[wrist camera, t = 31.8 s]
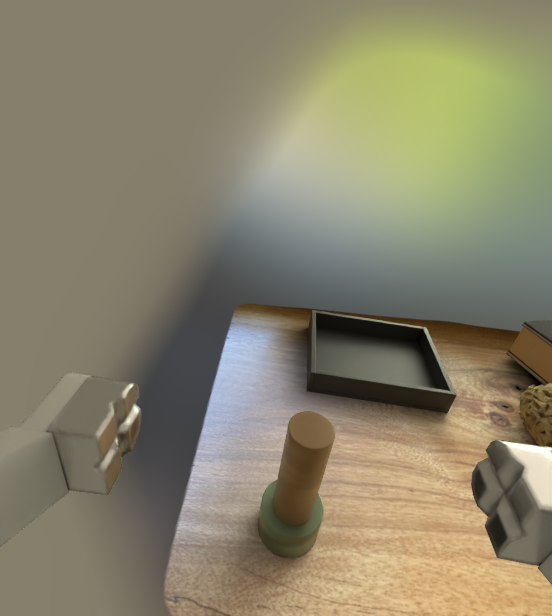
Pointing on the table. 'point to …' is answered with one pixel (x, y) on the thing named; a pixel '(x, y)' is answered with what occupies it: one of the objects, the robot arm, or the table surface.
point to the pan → (376, 362)
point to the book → (535, 349)
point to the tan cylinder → (297, 487)
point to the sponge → (538, 413)
